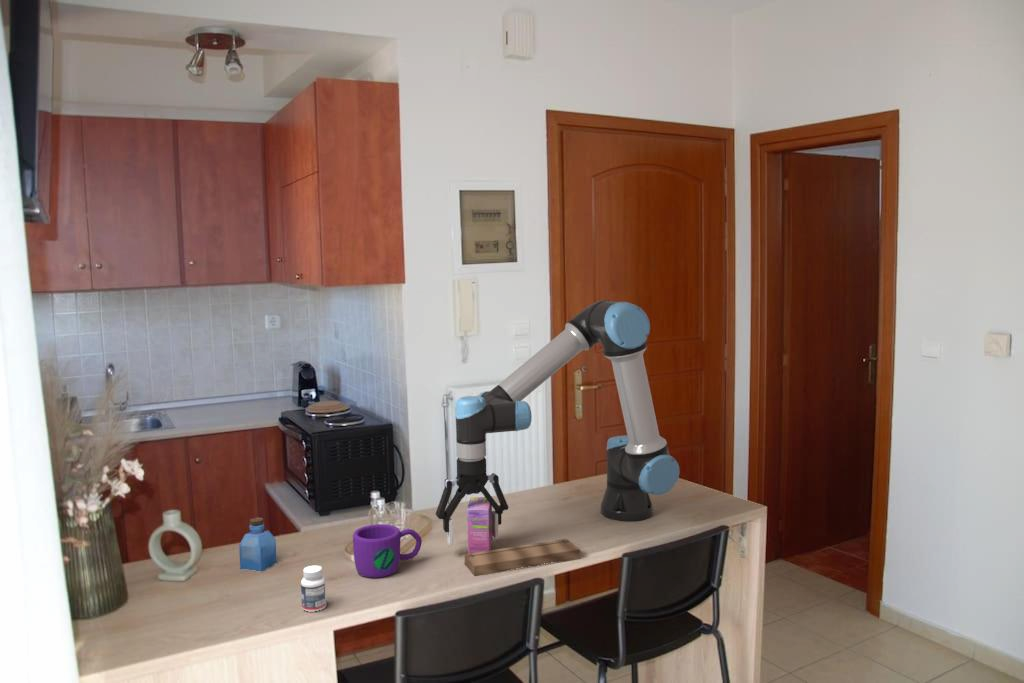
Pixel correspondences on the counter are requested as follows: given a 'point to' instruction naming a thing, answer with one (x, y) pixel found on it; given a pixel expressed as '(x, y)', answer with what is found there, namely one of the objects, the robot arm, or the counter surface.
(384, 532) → the mug
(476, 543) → the box
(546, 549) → the plank
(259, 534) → the perfume bottle
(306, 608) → the pill bottle
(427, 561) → the counter surface
